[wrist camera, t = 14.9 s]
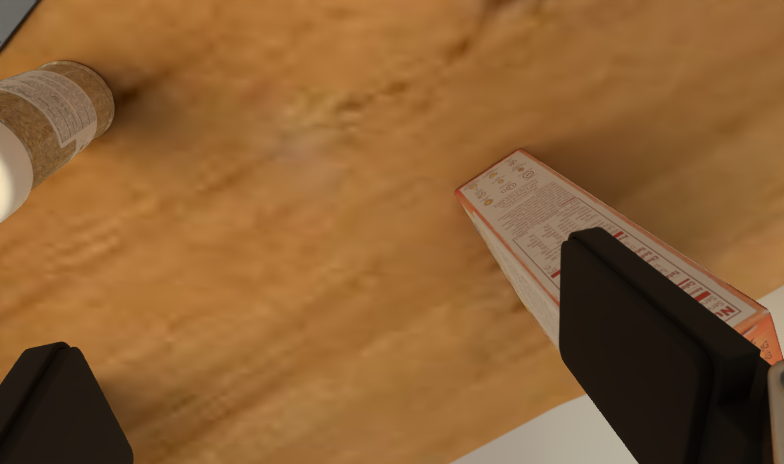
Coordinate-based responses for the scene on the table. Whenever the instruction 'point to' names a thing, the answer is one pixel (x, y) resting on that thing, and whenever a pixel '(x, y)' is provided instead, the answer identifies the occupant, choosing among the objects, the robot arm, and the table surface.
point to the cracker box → (578, 212)
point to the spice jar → (47, 125)
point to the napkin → (13, 16)
